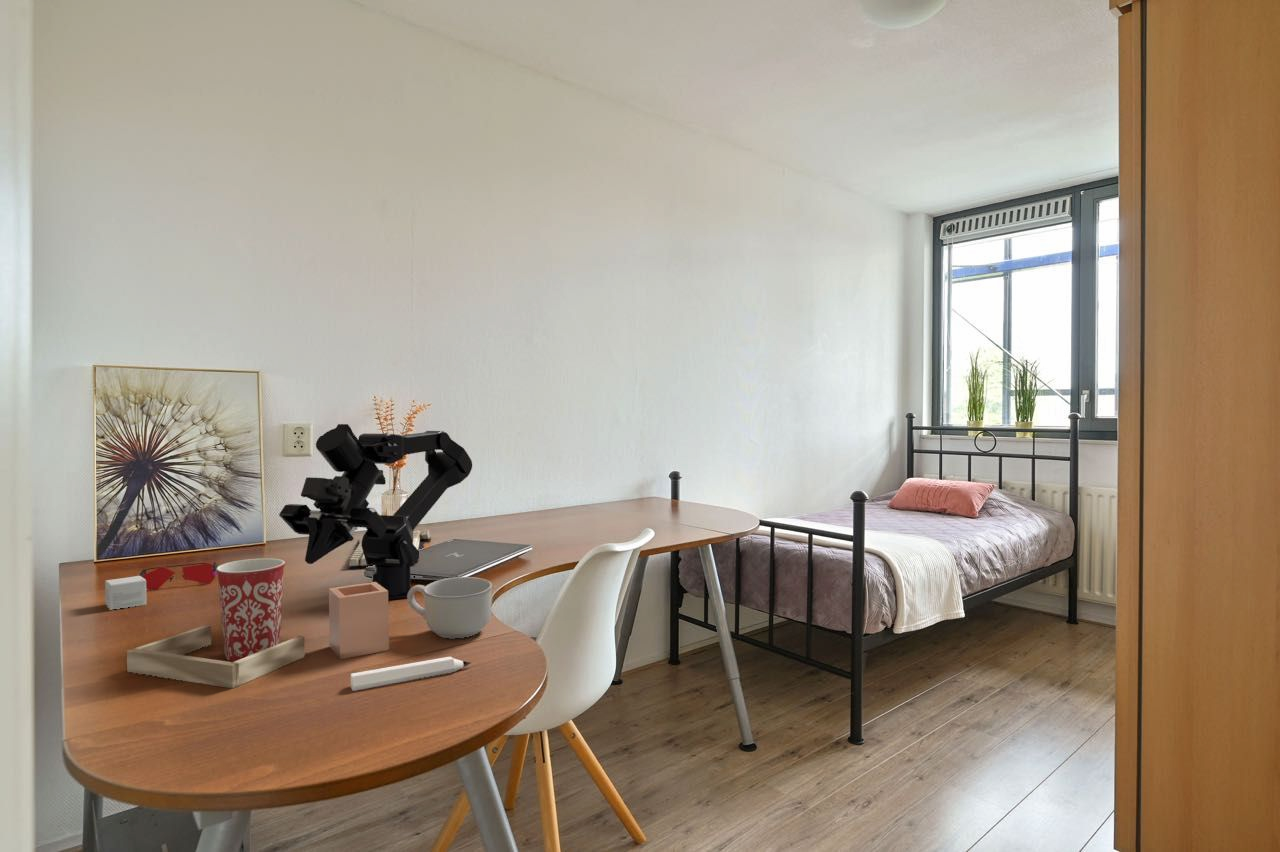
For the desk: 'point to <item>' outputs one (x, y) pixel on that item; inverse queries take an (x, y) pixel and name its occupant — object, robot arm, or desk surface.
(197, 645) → the bay
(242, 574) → the mug
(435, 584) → the teacup
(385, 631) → the terracotta pot
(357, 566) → the mechanical keyboard
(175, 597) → the desk surface
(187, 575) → the glasses
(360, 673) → the marker
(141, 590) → the small box
